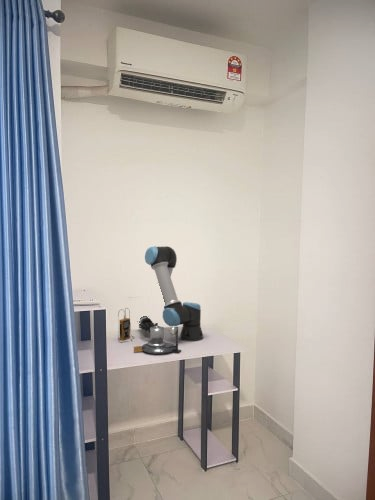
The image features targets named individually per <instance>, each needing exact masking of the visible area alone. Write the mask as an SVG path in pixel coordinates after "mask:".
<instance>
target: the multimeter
mask: <svg viewBox="0 0 375 500" xmlns="http://www.w3.org/2000/svg"><path fill="white" fill-rule="evenodd" d="M126 309H127V310H128V311H129V312H128V313H129V315H128V316H129V317H127V315H126V314H127V313H126ZM120 311H123V312H124V314H123V318H122V319H119V334H117V337H118V339H117V340H118V342H119V343H121V341H123V343H128V342H133V340H132V339H135V336H132V335H131V334H132V331H131V328H132V325H131V315H130V313H131V312H130V310H129V308H128V307H125V309H120V310H118V315H117V316H119V314H120ZM131 337H132V338H131ZM128 339H130V340H128ZM125 340H126V341H125ZM127 340H128V341H127Z"/></svg>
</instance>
